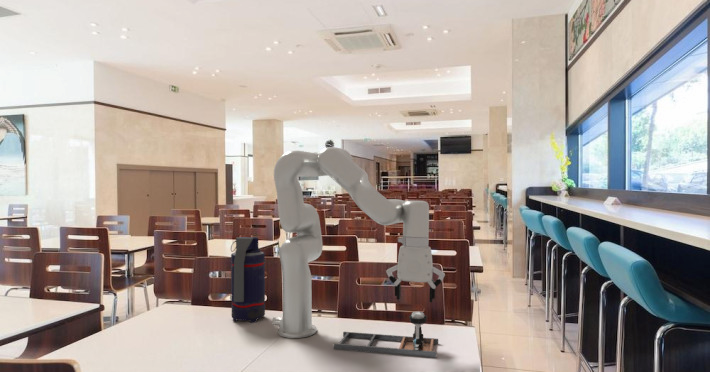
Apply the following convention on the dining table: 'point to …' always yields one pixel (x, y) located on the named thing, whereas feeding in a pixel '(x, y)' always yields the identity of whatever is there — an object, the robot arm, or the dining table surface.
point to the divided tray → (408, 349)
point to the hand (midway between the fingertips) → (414, 299)
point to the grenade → (247, 280)
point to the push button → (418, 328)
